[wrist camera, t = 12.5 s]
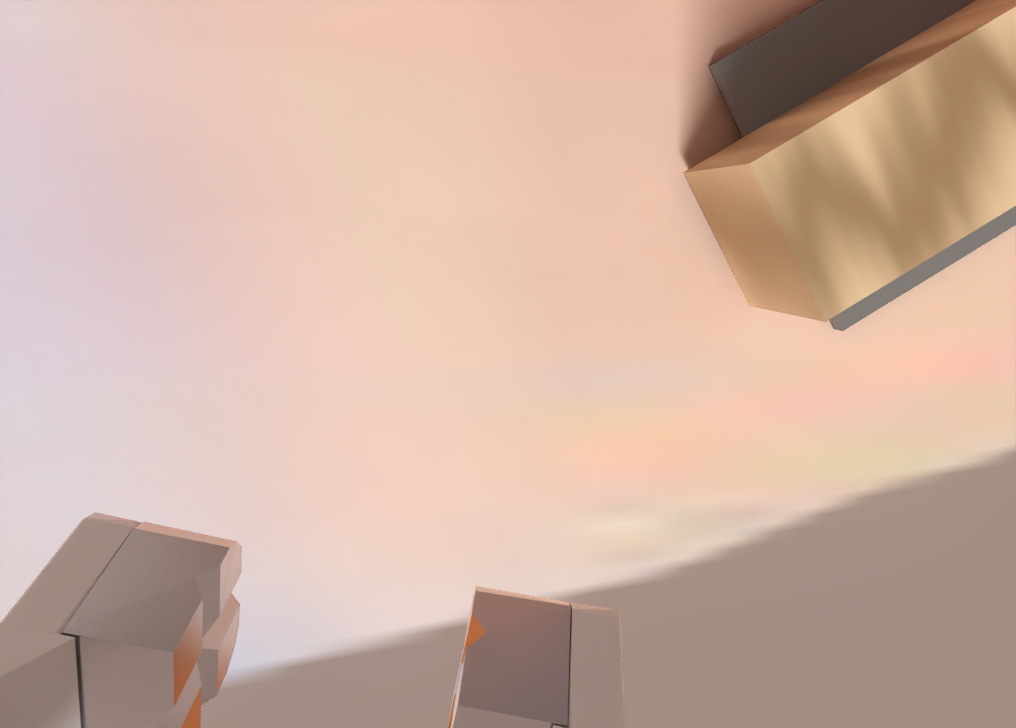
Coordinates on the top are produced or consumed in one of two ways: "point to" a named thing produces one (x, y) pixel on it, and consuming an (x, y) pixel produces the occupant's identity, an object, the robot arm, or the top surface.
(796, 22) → the mat
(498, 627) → the robot arm
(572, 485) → the top surface
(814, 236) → the block
